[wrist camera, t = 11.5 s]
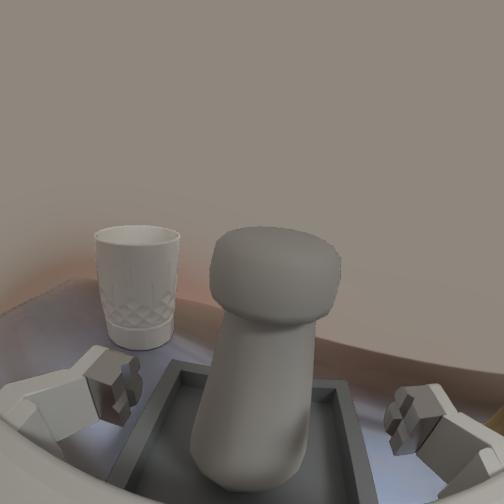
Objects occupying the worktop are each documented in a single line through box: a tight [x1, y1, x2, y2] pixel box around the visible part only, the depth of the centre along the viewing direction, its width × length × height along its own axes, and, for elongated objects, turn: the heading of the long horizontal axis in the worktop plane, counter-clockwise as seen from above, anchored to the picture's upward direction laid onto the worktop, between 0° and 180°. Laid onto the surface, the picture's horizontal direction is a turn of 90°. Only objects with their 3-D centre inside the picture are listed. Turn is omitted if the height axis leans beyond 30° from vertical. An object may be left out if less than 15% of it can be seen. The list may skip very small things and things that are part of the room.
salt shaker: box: [189, 226, 341, 493], centre depth 11 cm, size 6×6×13 cm
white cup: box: [94, 225, 180, 350], centre depth 25 cm, size 8×8×10 cm
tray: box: [106, 359, 378, 504], centre depth 13 cm, size 13×13×2 cm
